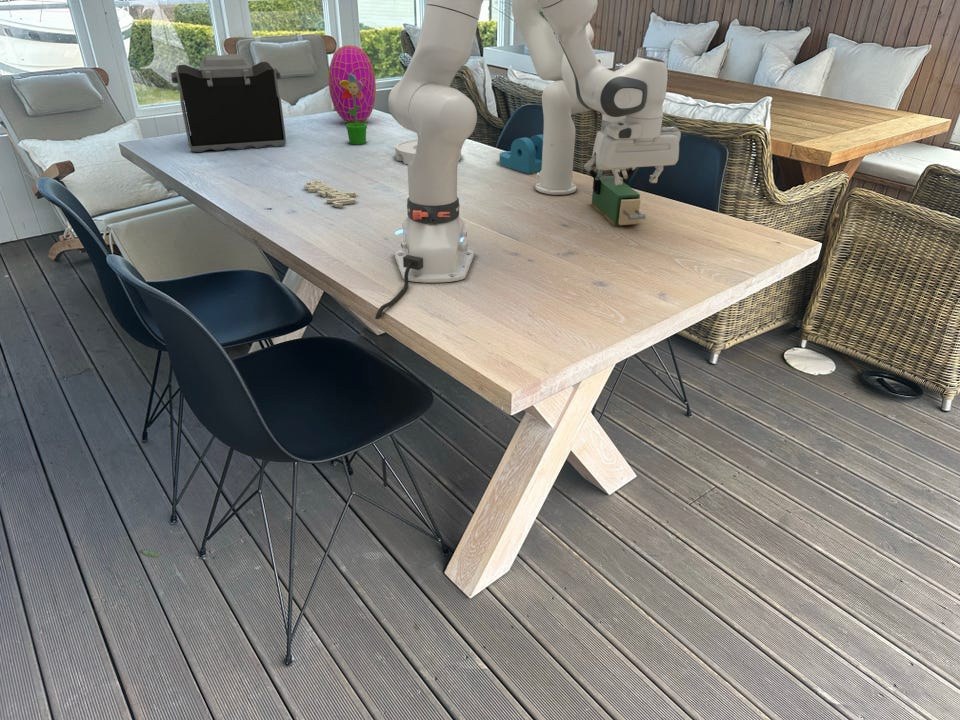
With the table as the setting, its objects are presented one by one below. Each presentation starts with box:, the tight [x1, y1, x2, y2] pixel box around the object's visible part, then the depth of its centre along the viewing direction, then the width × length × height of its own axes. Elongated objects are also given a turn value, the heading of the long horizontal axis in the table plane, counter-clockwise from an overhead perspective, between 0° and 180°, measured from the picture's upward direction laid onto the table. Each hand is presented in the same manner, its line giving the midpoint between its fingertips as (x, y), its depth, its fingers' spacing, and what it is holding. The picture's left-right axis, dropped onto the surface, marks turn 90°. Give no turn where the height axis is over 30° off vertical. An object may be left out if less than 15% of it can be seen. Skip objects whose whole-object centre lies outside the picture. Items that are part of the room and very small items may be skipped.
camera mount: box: [498, 133, 543, 175], centre depth 233 cm, size 18×10×10 cm, turn 39°
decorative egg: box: [328, 44, 377, 124], centre depth 286 cm, size 19×19×30 cm
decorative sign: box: [303, 179, 356, 208], centre depth 205 cm, size 26×1×10 cm
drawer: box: [618, 198, 647, 226], centre depth 186 cm, size 22×5×6 cm, turn 12°
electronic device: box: [170, 53, 287, 153], centre depth 252 cm, size 37×22×30 cm, turn 111°
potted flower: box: [339, 73, 368, 145], centre depth 255 cm, size 9×8×25 cm
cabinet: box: [590, 175, 641, 227], centre depth 191 cm, size 18×6×8 cm, turn 12°
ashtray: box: [394, 138, 462, 165], centre depth 243 cm, size 23×23×4 cm
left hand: (635, 183), depth 175 cm, fingers open, 8 cm apart
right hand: (608, 191), depth 194 cm, fingers closed on cabinet, 6 cm apart
